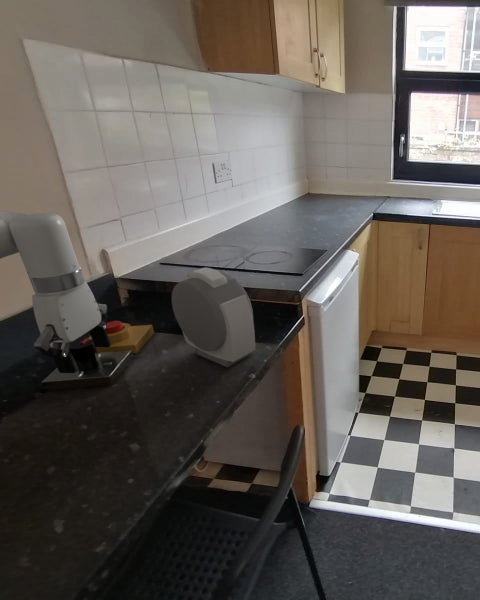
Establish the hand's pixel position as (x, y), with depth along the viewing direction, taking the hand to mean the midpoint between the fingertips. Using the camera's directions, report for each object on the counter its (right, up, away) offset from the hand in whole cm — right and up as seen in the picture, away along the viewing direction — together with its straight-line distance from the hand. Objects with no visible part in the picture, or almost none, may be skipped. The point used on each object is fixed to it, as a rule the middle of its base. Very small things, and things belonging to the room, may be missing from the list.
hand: (86, 358), depth 82 cm
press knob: (-2, +5, +11) cm, 12 cm away
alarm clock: (+24, -1, +8) cm, 26 cm away
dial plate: (0, -3, +1) cm, 4 cm away
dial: (0, -1, +1) cm, 2 cm away
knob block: (-2, +2, +12) cm, 13 cm away
